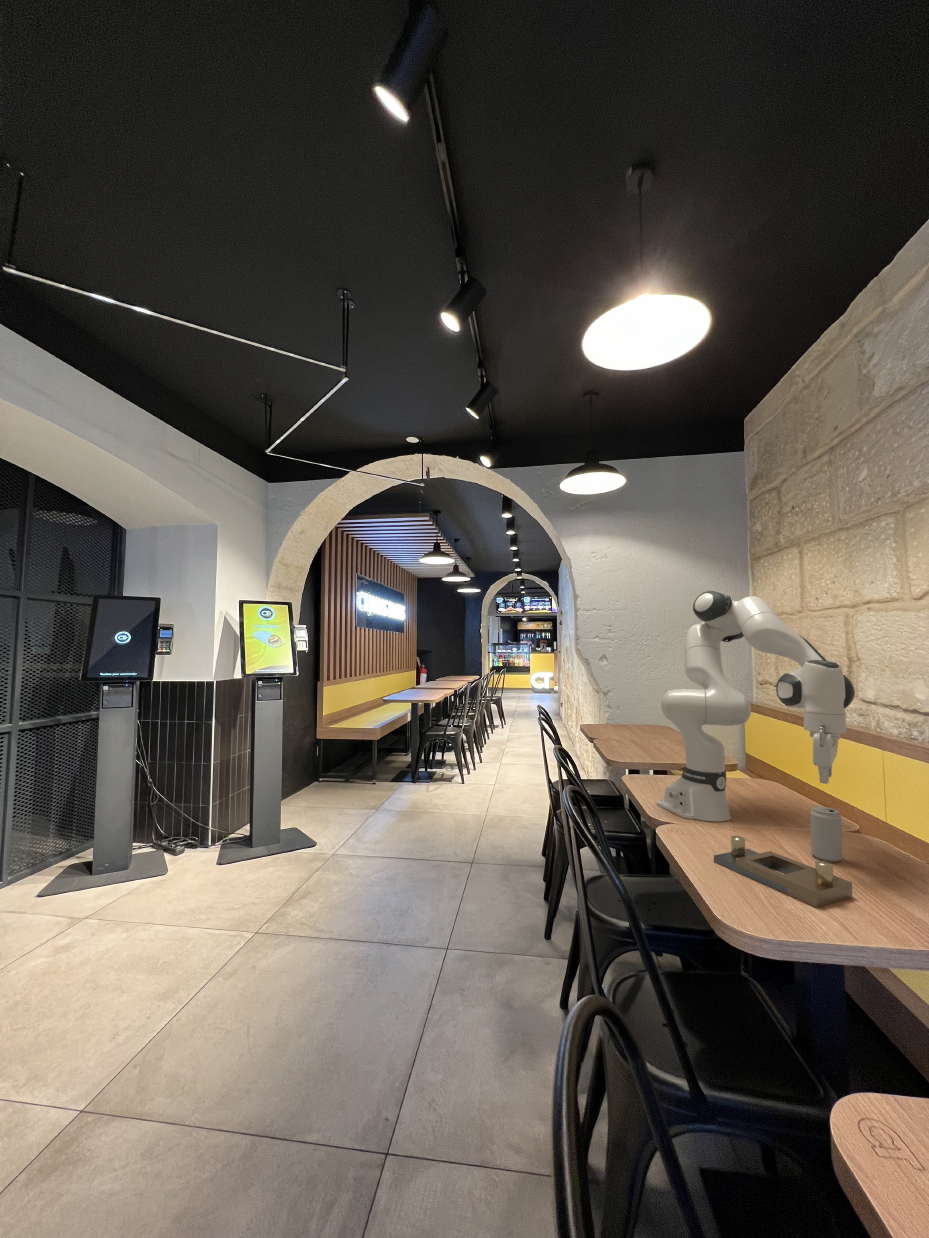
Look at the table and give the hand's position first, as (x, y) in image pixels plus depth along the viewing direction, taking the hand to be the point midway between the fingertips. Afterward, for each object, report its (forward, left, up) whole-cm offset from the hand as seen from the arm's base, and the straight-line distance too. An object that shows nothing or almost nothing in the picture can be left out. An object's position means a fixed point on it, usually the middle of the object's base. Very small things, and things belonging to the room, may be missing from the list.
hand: (825, 779), depth 130 cm
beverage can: (0, 0, -20) cm, 20 cm away
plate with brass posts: (+3, -23, -19) cm, 30 cm away
